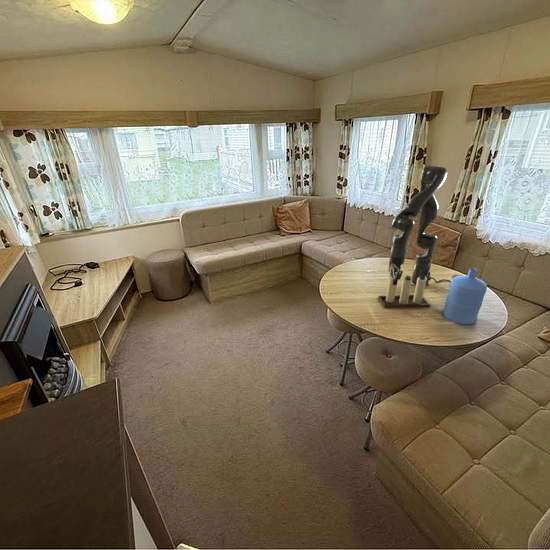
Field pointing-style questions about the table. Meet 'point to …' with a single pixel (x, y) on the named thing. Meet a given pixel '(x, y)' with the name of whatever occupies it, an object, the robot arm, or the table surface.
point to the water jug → (465, 298)
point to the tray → (398, 304)
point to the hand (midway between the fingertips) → (393, 282)
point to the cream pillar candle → (391, 290)
